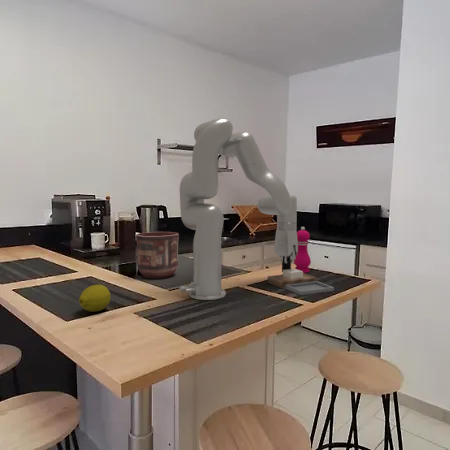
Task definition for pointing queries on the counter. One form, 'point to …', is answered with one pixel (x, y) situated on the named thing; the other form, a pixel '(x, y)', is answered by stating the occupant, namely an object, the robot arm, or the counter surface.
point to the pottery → (157, 254)
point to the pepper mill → (302, 251)
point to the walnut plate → (289, 280)
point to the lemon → (95, 298)
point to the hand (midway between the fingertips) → (286, 272)
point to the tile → (292, 273)
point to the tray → (309, 288)
